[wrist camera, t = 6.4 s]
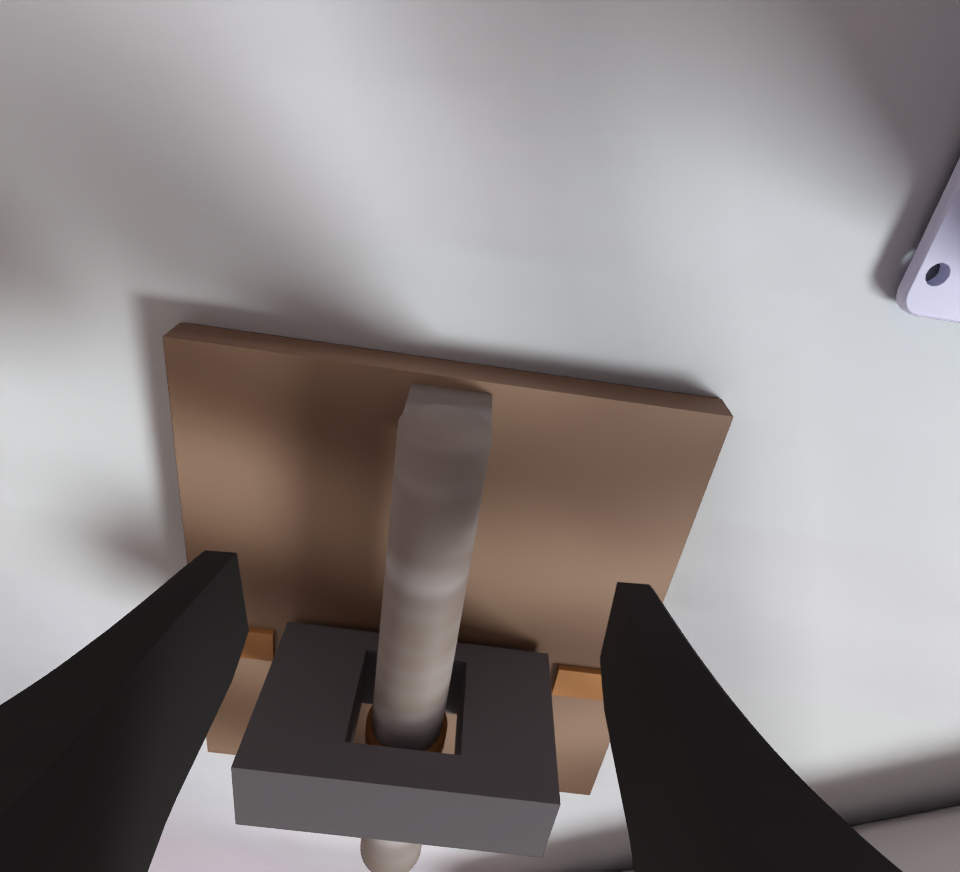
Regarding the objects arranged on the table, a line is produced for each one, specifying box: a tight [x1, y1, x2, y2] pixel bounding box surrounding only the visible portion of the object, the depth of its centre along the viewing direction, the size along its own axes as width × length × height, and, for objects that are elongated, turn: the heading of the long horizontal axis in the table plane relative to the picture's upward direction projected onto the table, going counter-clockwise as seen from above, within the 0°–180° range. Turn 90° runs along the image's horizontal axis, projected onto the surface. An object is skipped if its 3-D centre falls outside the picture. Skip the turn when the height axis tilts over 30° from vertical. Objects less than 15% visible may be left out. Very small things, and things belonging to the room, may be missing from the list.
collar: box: [231, 622, 560, 857], centre depth 18 cm, size 2×8×5 cm, turn 82°
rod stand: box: [163, 322, 733, 872], centre depth 19 cm, size 16×14×5 cm
